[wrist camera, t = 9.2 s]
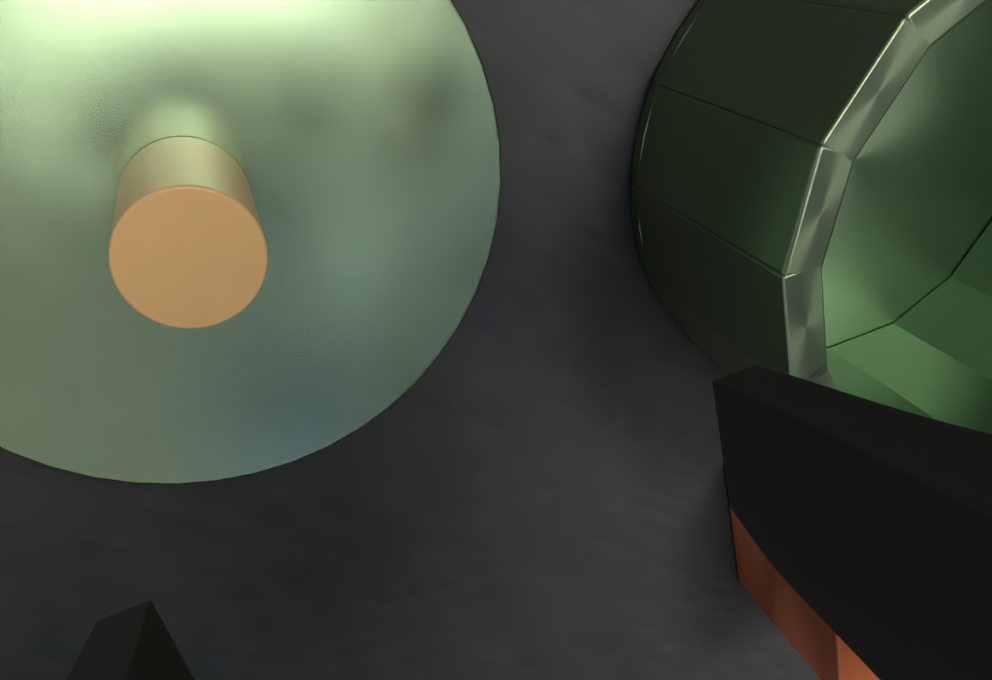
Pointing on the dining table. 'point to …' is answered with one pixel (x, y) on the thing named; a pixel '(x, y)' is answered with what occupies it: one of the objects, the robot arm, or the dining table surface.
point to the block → (794, 613)
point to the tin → (828, 195)
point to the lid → (231, 224)
